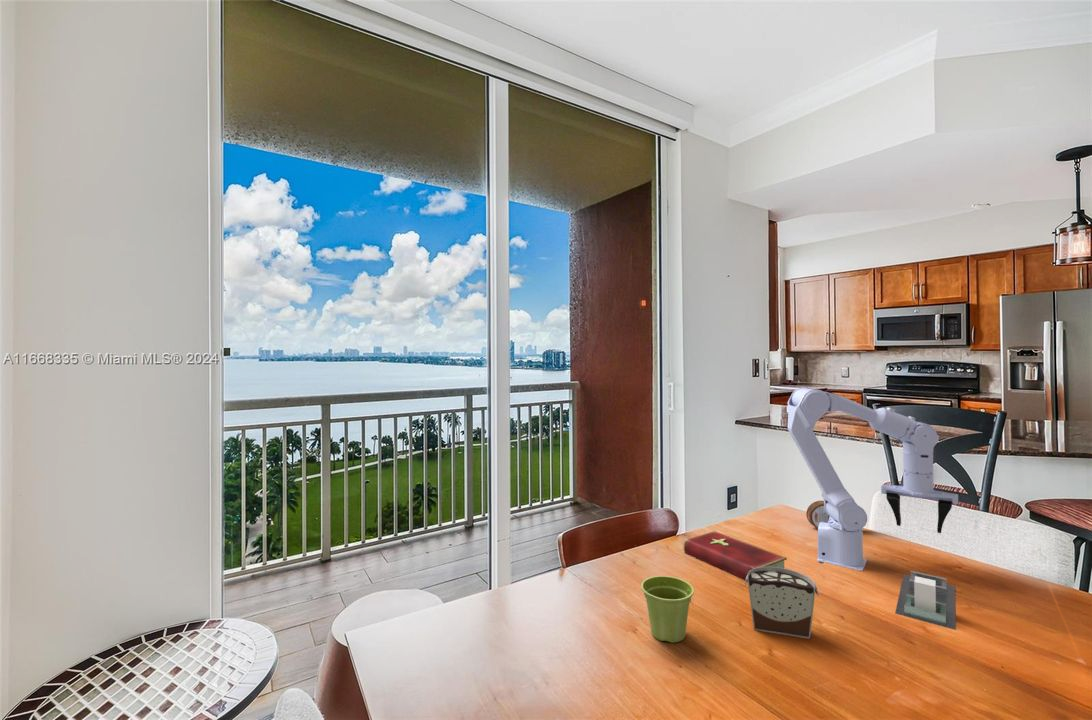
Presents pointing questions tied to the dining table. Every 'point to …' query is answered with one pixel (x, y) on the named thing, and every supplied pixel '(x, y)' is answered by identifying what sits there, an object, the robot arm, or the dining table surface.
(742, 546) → the hardcover book
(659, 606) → the plant pot
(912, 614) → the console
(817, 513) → the tin
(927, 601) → the plug
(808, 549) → the dining table surface
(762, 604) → the grey brown curved-top block
